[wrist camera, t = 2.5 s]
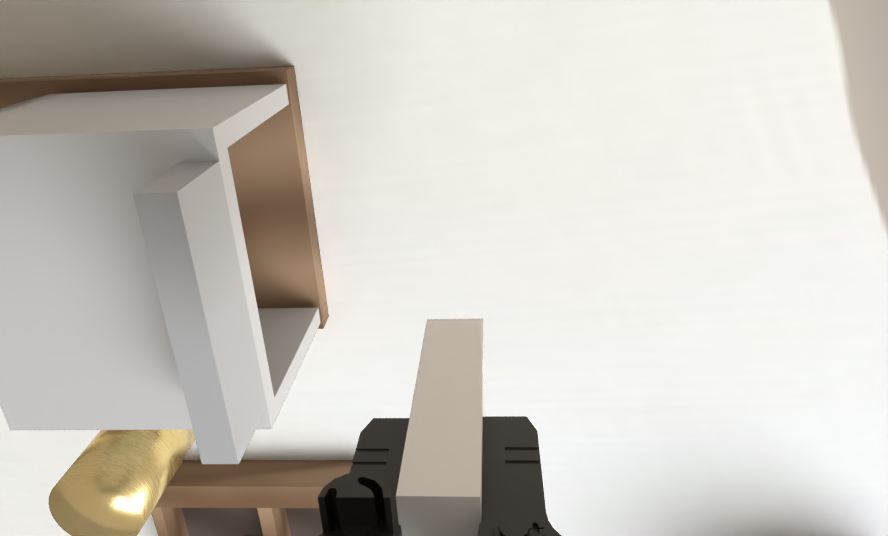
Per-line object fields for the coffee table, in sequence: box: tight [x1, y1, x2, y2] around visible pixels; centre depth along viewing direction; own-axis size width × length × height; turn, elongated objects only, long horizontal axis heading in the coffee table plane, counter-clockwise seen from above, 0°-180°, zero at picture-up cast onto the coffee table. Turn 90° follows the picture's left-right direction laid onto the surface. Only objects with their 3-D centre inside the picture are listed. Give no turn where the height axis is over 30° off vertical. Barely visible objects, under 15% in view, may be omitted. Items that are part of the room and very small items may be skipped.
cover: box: [0, 84, 321, 464], centre depth 24 cm, size 11×10×11 cm
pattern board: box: [0, 66, 329, 329], centre depth 29 cm, size 12×20×5 cm, turn 93°
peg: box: [49, 430, 196, 536], centre depth 32 cm, size 4×4×8 cm
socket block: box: [151, 461, 353, 536], centre depth 38 cm, size 8×13×2 cm, turn 93°
